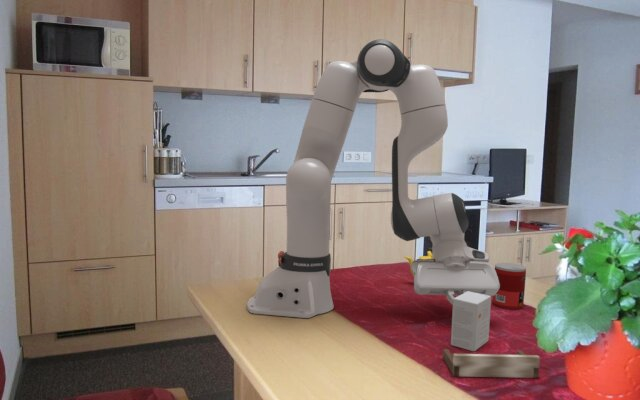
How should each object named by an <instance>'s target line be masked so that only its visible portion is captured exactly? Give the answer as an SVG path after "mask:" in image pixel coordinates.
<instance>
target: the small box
mask: <svg viewBox="0 0 640 400" xmlns="http://www.w3.org/2000/svg"><path fill="white" fill-rule="evenodd" d="M491 306H492V296H488V295H484V294H479V293H475V292H470V291H467V292H465V293H463V294H461V295H457V296H456V297H454V299H453V305H452V313H451V314H452V315H451V333H450V336H451V337H450V346H453V347H457V348H461V349H464V350H467V351H471V352H476V351H477V350H478V349H479V348H481V347H483V346H484V345H485V344H487V342H489V335H490V321H491Z"/></svg>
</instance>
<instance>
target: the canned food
mask: <svg viewBox="0 0 640 400" xmlns="http://www.w3.org/2000/svg"><path fill="white" fill-rule="evenodd" d="M494 269H495V271H496V273H497V276H498V280H499V284H500V288H499V290H498V292H497V293H496V294H495V295H494V296H492V304H493V305H494V306H495V307H498V308H501V309H505V310H520V309H522V308H523V307H524V303H525V302H524V301H525V291H526V278H527V277H526V276H527V275H526V274H527V268H526V266H524V265H523V264H518V263H513V262H512V263H510V262H497V263H495V265H494Z"/></svg>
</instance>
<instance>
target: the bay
mask: <svg viewBox="0 0 640 400" xmlns="http://www.w3.org/2000/svg"><path fill="white" fill-rule="evenodd" d="M442 354H443V355H442V359H443V361H444V363H445V364H446V366H447V367H448V369H449V371H450V373H451V374H452V376H453V377H469V378H470V377H472V378H473V377H477V378H479V377H482V378H483V377H484V378H523V379H525V378H526V379H527V378H528V379H530V378H531V379H532V378H533V379H538V378H539V373H540V363H541V361H540V360H541V357H540V356H539V355H537V354H533V355H532V354H526V353H525V352H524V351H523V350H516V354H490V353H489V354H488V353H484V354H483V353H451V351H450V350H449V348H443V352H442Z"/></svg>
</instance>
